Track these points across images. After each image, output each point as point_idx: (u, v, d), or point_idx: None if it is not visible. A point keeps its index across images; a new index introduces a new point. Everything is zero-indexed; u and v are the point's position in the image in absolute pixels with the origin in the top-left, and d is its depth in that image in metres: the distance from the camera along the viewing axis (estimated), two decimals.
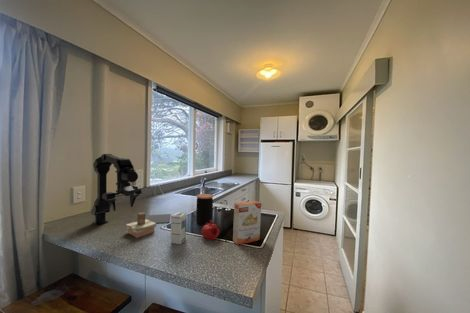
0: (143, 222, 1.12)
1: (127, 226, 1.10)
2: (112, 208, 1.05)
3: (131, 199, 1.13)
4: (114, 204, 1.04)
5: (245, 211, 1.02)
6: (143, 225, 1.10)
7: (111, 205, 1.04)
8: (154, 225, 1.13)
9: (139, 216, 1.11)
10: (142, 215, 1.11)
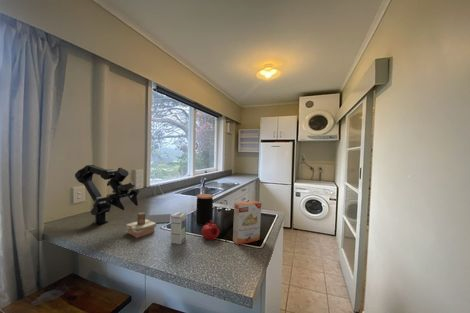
0: (143, 222, 1.12)
1: (127, 226, 1.10)
2: (120, 208, 1.11)
3: (133, 200, 1.20)
4: (120, 203, 1.11)
5: (245, 211, 1.02)
6: (143, 225, 1.10)
7: (118, 206, 1.10)
8: (154, 225, 1.13)
9: (139, 216, 1.11)
10: (142, 215, 1.11)
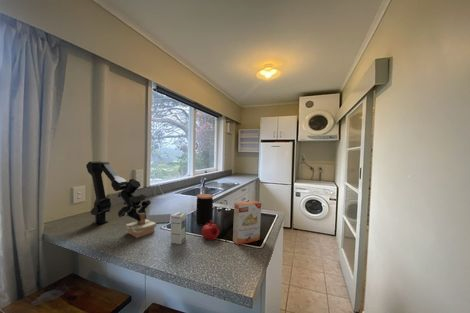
0: (143, 222, 1.12)
1: (127, 226, 1.10)
2: None
3: None
4: (137, 214, 1.10)
5: (245, 211, 1.02)
6: (143, 225, 1.10)
7: (135, 217, 1.10)
8: (154, 225, 1.13)
9: (139, 216, 1.11)
10: (142, 215, 1.11)
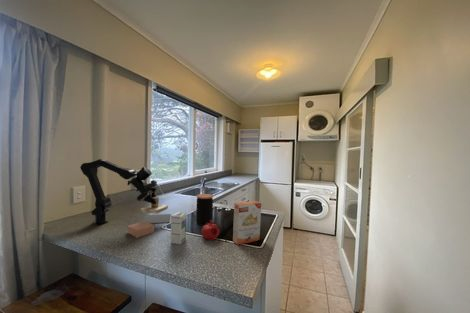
0: (157, 205, 1.25)
1: (143, 210, 1.21)
2: (152, 203, 1.23)
3: None
4: (152, 198, 1.23)
5: (245, 211, 1.02)
6: (158, 207, 1.24)
7: (150, 201, 1.22)
8: (166, 207, 1.29)
9: None
10: (156, 199, 1.25)
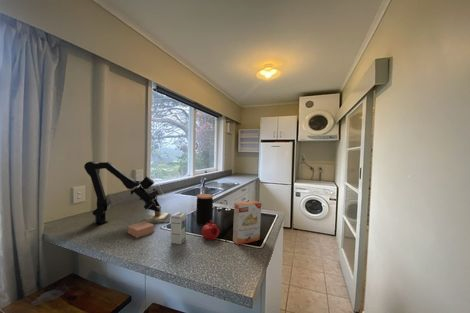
0: (160, 213, 1.34)
1: (148, 219, 1.28)
2: None
3: (155, 204, 1.37)
4: (156, 206, 1.29)
5: (245, 211, 1.02)
6: (162, 215, 1.33)
7: (154, 209, 1.28)
8: (168, 214, 1.39)
9: None
10: (160, 208, 1.33)
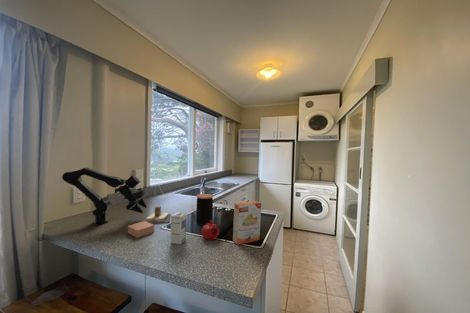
0: (160, 213, 1.34)
1: (148, 219, 1.28)
2: (139, 212, 1.26)
3: (141, 203, 1.35)
4: (139, 207, 1.25)
5: (245, 211, 1.02)
6: (162, 215, 1.33)
7: (137, 210, 1.25)
8: (168, 214, 1.39)
9: (158, 209, 1.32)
10: (160, 208, 1.33)
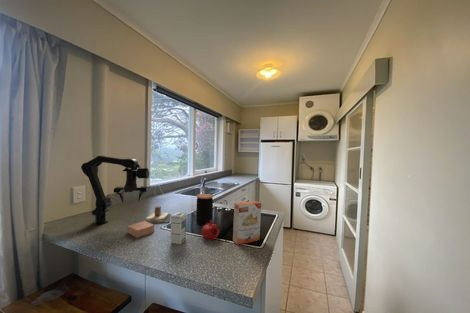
0: (160, 213, 1.34)
1: (148, 219, 1.28)
2: None
3: None
4: (121, 197, 1.24)
5: (245, 211, 1.02)
6: (162, 215, 1.33)
7: None
8: (168, 214, 1.39)
9: (158, 209, 1.32)
10: (160, 208, 1.33)
